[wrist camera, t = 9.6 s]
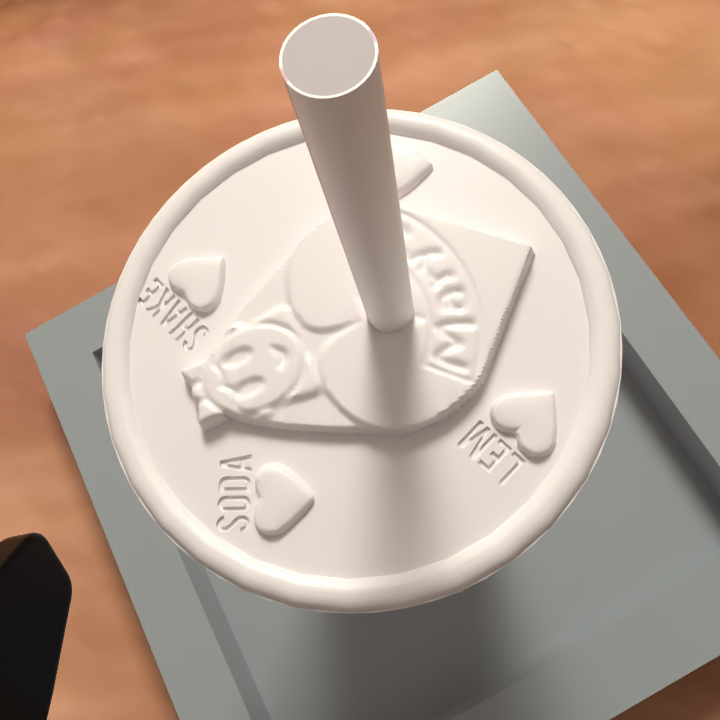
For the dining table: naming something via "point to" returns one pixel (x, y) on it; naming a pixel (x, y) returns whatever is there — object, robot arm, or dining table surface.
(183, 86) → the dining table surface
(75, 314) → the tray
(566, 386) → the smoothie
